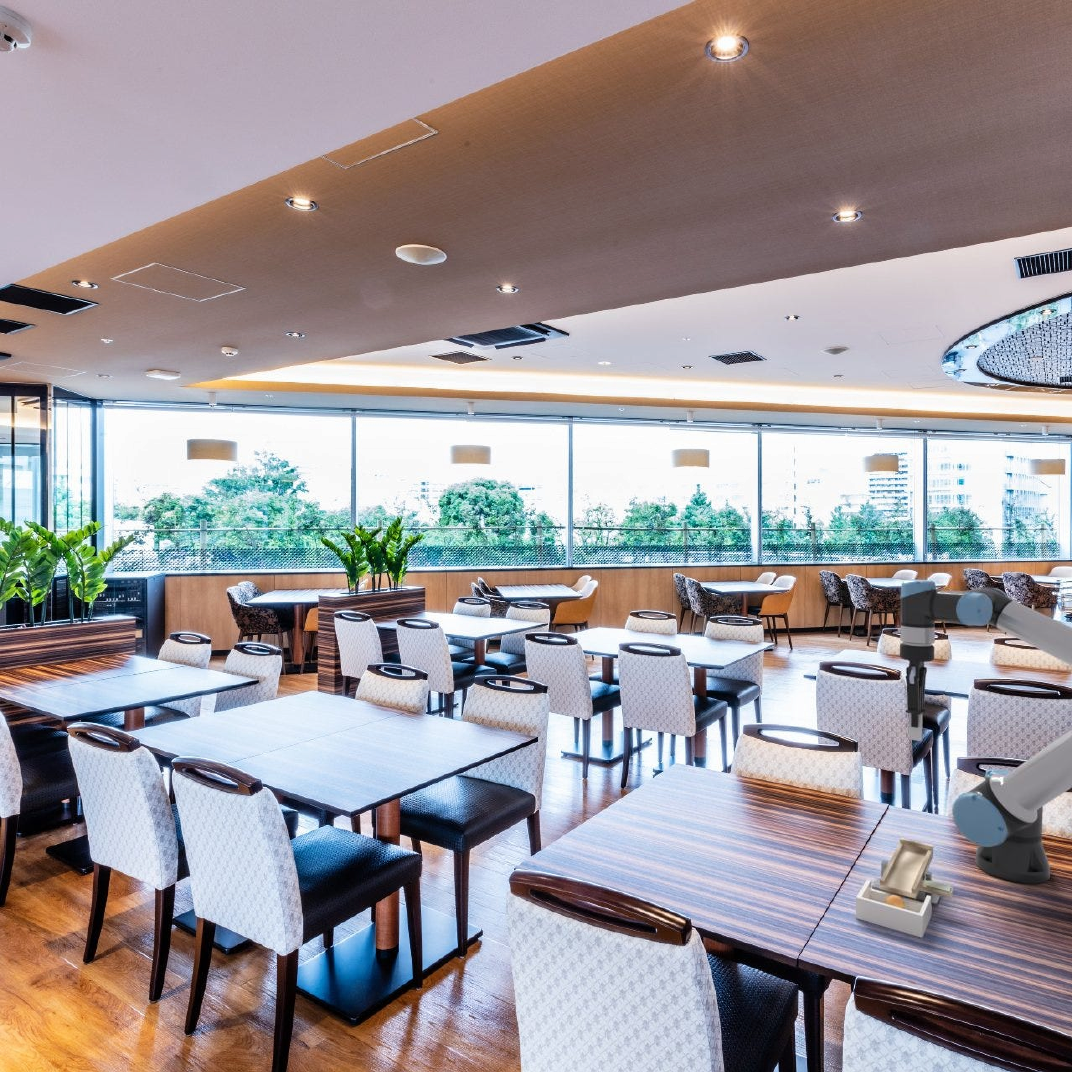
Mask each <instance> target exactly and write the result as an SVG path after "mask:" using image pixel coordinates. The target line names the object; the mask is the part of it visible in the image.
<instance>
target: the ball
mask: <svg viewBox="0 0 1072 1072" xmlns="http://www.w3.org/2000/svg"><path fill="white" fill-rule="evenodd" d="M886 904H888V905H892V906H895V907H899V908H902V909H904V902H903V900H902V899H901V898H900V897H899V896H897V895H891V896H889V897H888V898H887V900H886Z"/></svg>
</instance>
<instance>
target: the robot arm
mask: <svg viewBox="0 0 1072 1072" xmlns="http://www.w3.org/2000/svg"><path fill="white" fill-rule="evenodd" d="M900 589H901V590H900V597H899V599H900V627H899V628H897V632H898V633H899V634H900V637H899V639H900V641H901V643H900V644H899V657H900V659H902V660H905V661H908V662H909V663H908V666H907V667H906V668H905V672H906V673H905V674H906V676H905V681H906V698H907V699H906V700H907V701H906V702H907V703H906V705H907V707H906V708H907V709H906V710H905V713H907V714H908V740H912V741H918V742H921V741H923V714H927V710H926V709H924V708H925V699H926V698H925V695H926V681H927V679H926V678H927V672H928V671H927V669H928V668H927V667H926V666H925V663H928V662H933V661H934V660H935V646H934V645H933V644H935V641H936V639H935V637H936V627H935V626H936V623H935V622H940V623H941V622H943V623H950V624H957V625H958V624H959V625H964V626H965V625H966V626H968V627H971V626H978V627H981V626H982V627H984V626H986V625H987V624H989V625H991V626H992V627H995V628H997V629H999V630H1001V631H1002V632H1005V633H1006V634H1009V635H1011V636H1013V637H1014V638H1017V639H1019V640H1020V641H1022V642H1024V643H1026V644H1028V645H1030V646H1033V647H1035V648H1036V649H1038V650H1040V651H1042V652H1044V653H1045V654H1047V655H1050V656H1052V657H1054V658H1055V659H1058V660H1060V661H1062V662H1063V663H1065V664H1067V665H1069V666H1071V667H1072V627H1070V626H1069V625H1066V624H1064V623H1063V622H1061V621H1058V620H1055V619H1054V618H1052V617H1050V616H1047V615H1045V614H1044V613H1042V612H1039V611H1037V610H1035V609H1033V608H1030V607H1028V606H1027V605H1024V604H1022V603H1020V602H1018V601H1015V600H1014V599H1011V598H1009V596H1008V595H1007V594H1006V593H1005V592H1004V590H1001V589H999V588H995V587H986V586H985V587H982V588H977V589H976V588H975V589H969V590H962V591H960V590H959V591H958V590H941V589H937V586H936V582H935V581H933V580H928V579H907V580H906V579H905V580H903V581H902V583H901V588H900ZM1070 789H1072V729H1070V730H1068V731H1067V732H1065V733H1064V734H1063V735H1061V736H1060V737H1059V738H1057V739H1056V740H1054V741H1053V742H1051V743H1050V744H1048V745H1047V746H1046V747H1044V748H1043V749H1041V750H1040V751H1039V752H1037V753H1036V754H1034V755H1032V757H1030V758H1028V759H1027V760H1025V761H1024V762H1023V763H1021V764H1020V765H1019V766H1017V767H1016V768H1014V769H1013V770H1009V769H1003V768H989V769H987V770H986V771H985V775H984V780H983V781H982V782H980V783H979V784H978V785H977V786H975V787H974V788H972V789H971V790H969V791H967V792H963V793H961V794H960V795H958V797H957V798H956V799H955V800H954V801H953V804H952V809H951V811H952V814H951V815H952V820H953V822H954V825H955V826H956V828H957V829H958V831H959V832H960V833H961V835H962V836H963V837H964V838H966V839H967V840H968V841H969V842H971V843H973V844H975V845H978V846H977V848H976V850H975V859H974V860H975V861H974V862H975V864H976V866H977V867H978V868H979V869H981V870H982V871H984V872H985V873H987V874H989V875H991V876H993V877H996V878H999V879H1002V880H1005V881H1010V882H1014V883H1020V884H1029V885H1030V884H1031V885H1032V884H1033V885H1034V884H1042V883H1043V884H1044V883H1046V882H1048V881H1049V880H1050V879H1051V867H1050V862H1049V860H1048V857H1047V855H1046V851H1045V849H1044V845H1043V811H1044V806H1045V805H1047V804H1049V803H1050V802H1052V801H1054V800H1055V799H1056V798H1058V797H1059V796H1061V795H1063V794H1064V793H1066V792H1068V790H1070Z"/></svg>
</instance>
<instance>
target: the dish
mask: <svg viewBox="0 0 1072 1072" xmlns="http://www.w3.org/2000/svg"><path fill="white" fill-rule="evenodd" d="M891 895H893V894H889V893H886V892H882V891H878V890H875V889H872V880H871V879H868V878H867V879H866V881H865V883H864V884H863V886H862V888H861V889H860V891H859V892H858V893H857V895H856V897H855V919H858V920H861V921H865V922H868V923H870V924H874V925H878V926H881V927H885V928H888V929H891V930H893V931H894V930H895V931H897V932H901V933H905V934H908V935H910V936H915V937H918V938H921V939H922V938H923V937H924V934H925V933H926V930H927V928H928V925H929V923H930V921H931V918H932V915H933V914H932V913H933V912H932V910H933V909H932V908H933V905H931V896H928V895H927V897H926V899H925V901H924V903H922V902H919V901H915V900H911V899H908V898H904V897H900V896H899V897H900V898H901V899H902V900H903V902H904V909H902V908H899V907H895V906H892V905H888V904H886V900H887V898H888V897H889V896H891Z"/></svg>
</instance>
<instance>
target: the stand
mask: <svg viewBox="0 0 1072 1072" xmlns="http://www.w3.org/2000/svg"><path fill="white" fill-rule="evenodd" d="M888 864H889V862H888V860H886V859H885V860H884V859H883V860H882V861H881V864H880V865H881V867H880V869H881V870H880V874H881V875H880V877H876V879H875V880H874V882H873V883H872V885H871V889H875V890H878V891H882V892H886V893H889V894H893V895H897V896H900V897H904V898H908V899H911V900H915V901H919V902H922V903H924V901H925V899H926V897H927V895H928V896H931V905H932V907H938V903H939V902H940V900H941V896H940V895H936V894H932V893H929V892H925V891H921V890H919V892H918V894H917V897H916V899H915V898H911V897H908V896H904V895H900V894H897V893H893V892H889V891H886V890H882V889H880V879H881V877H882V875H883V873H884V872H885V870H886V868H887V866H888ZM932 877H933V872H932V871H928V870H927V872H926V874H925V880H926V881H928V880H929V881H933V878H932Z"/></svg>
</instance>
